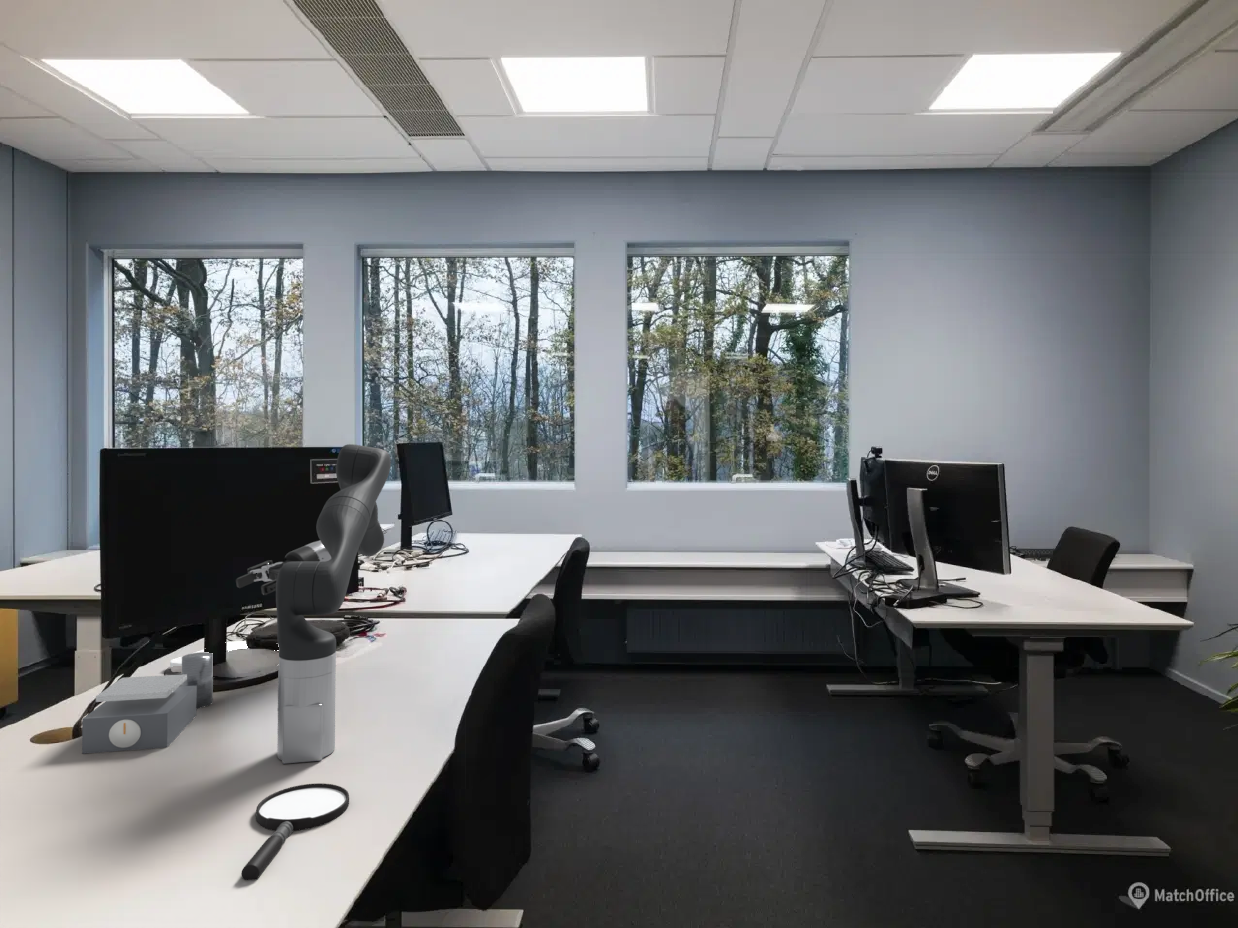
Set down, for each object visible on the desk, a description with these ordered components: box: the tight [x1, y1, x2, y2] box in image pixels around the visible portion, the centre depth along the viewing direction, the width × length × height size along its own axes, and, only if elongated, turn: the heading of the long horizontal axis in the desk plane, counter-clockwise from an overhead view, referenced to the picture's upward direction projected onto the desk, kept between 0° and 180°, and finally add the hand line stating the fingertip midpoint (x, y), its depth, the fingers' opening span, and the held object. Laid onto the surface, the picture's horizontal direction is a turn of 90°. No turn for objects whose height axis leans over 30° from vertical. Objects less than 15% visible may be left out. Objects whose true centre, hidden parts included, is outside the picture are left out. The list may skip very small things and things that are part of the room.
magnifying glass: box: [241, 782, 350, 881], centre depth 100 cm, size 12×24×2 cm, turn 4°
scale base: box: [81, 685, 197, 754], centre depth 133 cm, size 16×13×6 cm
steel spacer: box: [180, 652, 214, 709], centre depth 149 cm, size 6×6×10 cm
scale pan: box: [95, 674, 187, 703], centre depth 133 cm, size 11×11×1 cm
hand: (249, 587), depth 158 cm, fingers open, 8 cm apart
